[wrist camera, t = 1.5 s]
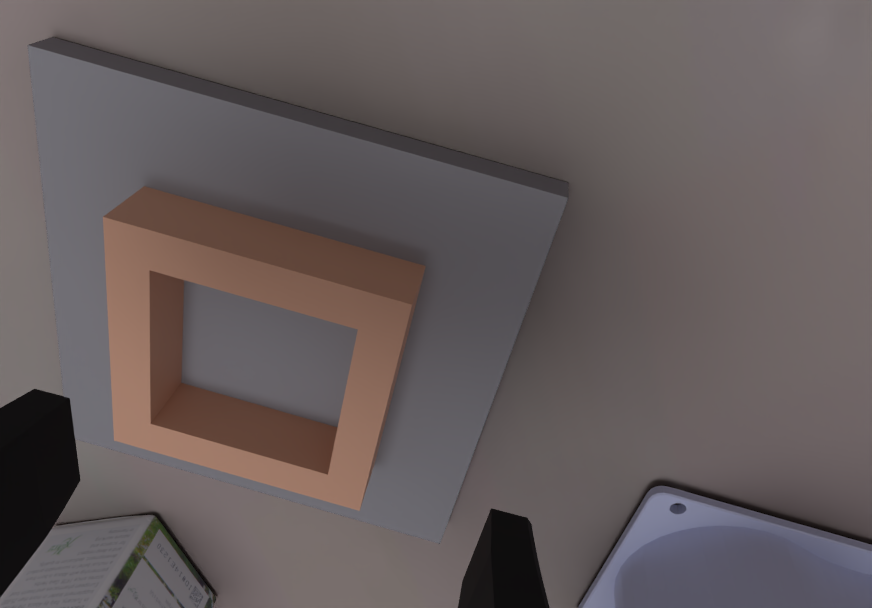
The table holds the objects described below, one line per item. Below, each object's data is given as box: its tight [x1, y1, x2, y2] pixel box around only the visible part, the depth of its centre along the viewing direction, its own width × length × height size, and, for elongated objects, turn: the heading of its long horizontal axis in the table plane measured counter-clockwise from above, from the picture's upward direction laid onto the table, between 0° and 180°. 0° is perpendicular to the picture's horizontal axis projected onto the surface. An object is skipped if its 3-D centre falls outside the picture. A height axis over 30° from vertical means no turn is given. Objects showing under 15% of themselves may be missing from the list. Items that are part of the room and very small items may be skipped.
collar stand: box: [28, 37, 568, 544], centre depth 20 cm, size 14×14×3 cm
